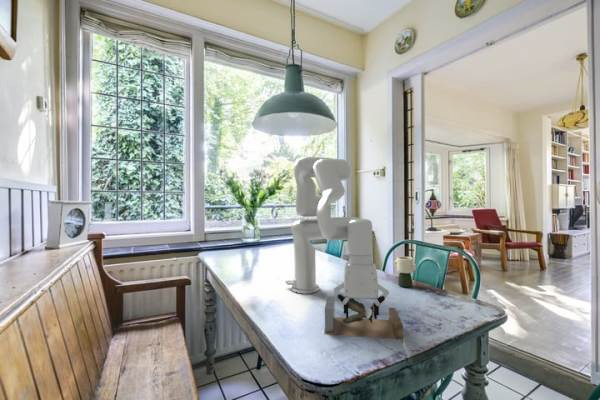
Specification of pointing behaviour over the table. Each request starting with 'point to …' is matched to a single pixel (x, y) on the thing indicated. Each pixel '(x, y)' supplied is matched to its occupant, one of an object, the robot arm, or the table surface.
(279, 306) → the table surface
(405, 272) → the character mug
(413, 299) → the table surface
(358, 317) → the eagle figurine
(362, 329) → the wooden book rack
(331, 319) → the bookend
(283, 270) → the table surface
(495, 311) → the table surface
